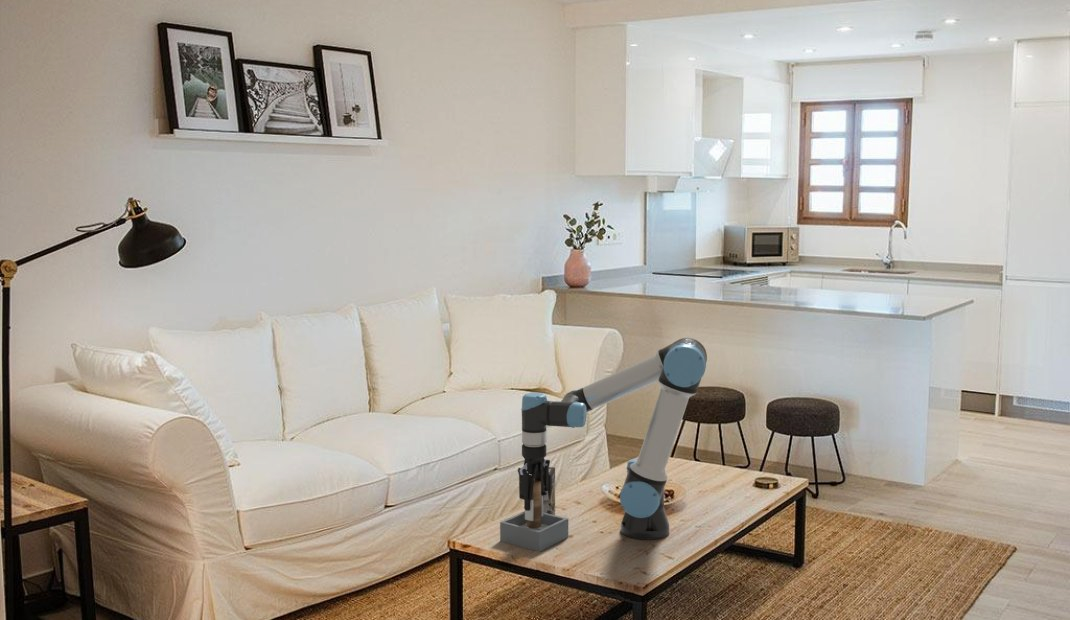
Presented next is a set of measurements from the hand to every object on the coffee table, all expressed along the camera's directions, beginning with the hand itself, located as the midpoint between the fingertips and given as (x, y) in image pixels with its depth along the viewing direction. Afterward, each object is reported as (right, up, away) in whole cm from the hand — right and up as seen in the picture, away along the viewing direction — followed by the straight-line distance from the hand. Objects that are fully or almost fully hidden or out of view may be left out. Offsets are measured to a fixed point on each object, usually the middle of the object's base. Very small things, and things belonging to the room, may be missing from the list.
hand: (534, 517), depth 310 cm
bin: (0, -7, +1) cm, 7 cm away
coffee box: (+3, -5, +20) cm, 20 cm away
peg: (0, -3, 0) cm, 3 cm away
